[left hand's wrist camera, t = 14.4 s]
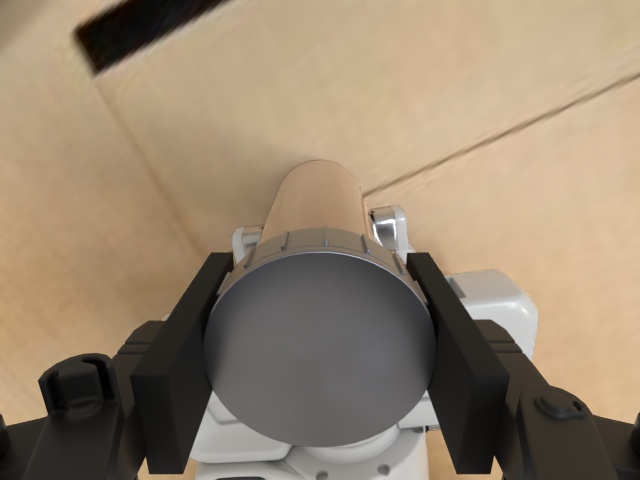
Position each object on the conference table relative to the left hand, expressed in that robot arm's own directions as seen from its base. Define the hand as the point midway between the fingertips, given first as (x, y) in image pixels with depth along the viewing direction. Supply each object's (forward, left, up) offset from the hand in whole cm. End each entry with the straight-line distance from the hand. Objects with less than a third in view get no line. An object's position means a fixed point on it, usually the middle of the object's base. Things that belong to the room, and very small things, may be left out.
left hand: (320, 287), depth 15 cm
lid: (0, 0, +4) cm, 4 cm away
